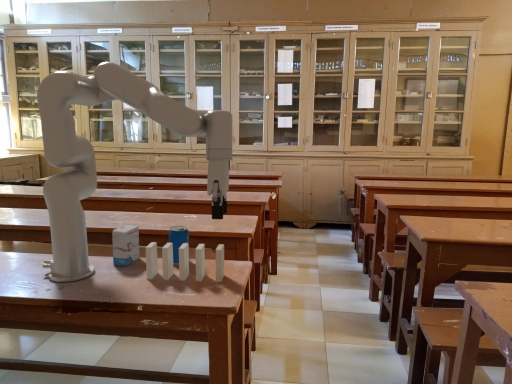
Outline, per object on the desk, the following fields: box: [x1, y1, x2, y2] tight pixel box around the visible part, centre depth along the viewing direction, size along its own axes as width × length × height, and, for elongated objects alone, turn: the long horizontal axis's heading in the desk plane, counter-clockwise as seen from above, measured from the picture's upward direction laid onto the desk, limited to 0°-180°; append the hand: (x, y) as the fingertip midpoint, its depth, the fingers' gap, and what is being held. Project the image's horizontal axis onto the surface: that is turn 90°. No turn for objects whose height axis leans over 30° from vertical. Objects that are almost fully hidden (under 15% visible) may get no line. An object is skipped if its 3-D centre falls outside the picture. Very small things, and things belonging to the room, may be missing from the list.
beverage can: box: [168, 225, 190, 266], centre depth 117 cm, size 6×6×12 cm
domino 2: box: [161, 242, 174, 281], centre depth 106 cm, size 2×5×10 cm, turn 176°
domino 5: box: [215, 243, 225, 283], centre depth 105 cm, size 2×5×10 cm, turn 176°
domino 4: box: [195, 243, 206, 282], centre depth 105 cm, size 2×5×10 cm, turn 176°
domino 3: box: [178, 242, 190, 282], centre depth 105 cm, size 2×5×10 cm, turn 176°
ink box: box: [111, 224, 140, 267], centre depth 117 cm, size 9×5×12 cm, turn 168°
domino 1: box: [145, 241, 159, 280], centre depth 106 cm, size 2×5×10 cm, turn 176°
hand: (219, 215), depth 102 cm, fingers open, 6 cm apart
